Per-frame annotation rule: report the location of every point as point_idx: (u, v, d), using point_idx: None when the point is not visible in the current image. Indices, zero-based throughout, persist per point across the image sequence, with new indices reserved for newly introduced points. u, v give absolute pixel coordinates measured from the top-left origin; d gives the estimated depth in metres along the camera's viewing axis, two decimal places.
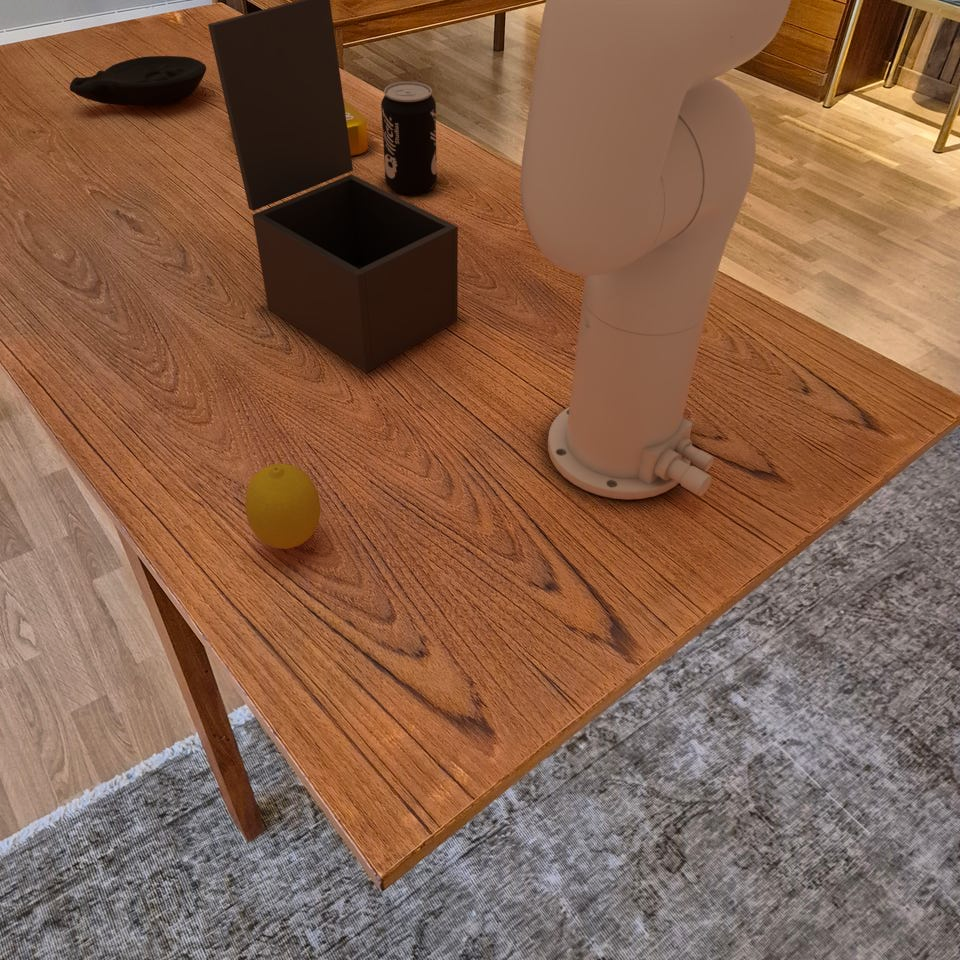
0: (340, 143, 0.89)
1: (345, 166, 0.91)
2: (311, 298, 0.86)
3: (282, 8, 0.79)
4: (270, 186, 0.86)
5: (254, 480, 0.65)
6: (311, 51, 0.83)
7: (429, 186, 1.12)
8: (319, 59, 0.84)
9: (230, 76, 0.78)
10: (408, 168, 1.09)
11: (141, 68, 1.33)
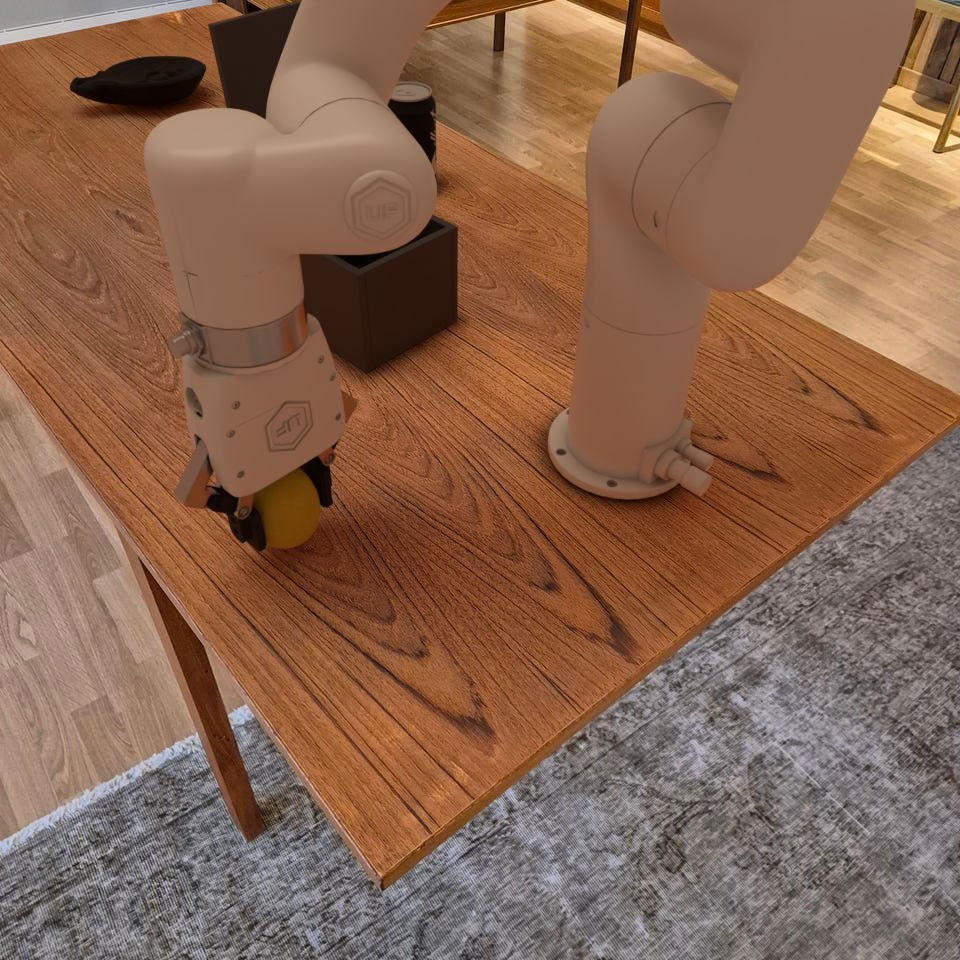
0: None
1: None
2: (311, 298, 0.86)
3: (282, 8, 0.79)
4: None
5: None
6: None
7: None
8: None
9: (230, 76, 0.78)
10: None
11: (141, 68, 1.33)
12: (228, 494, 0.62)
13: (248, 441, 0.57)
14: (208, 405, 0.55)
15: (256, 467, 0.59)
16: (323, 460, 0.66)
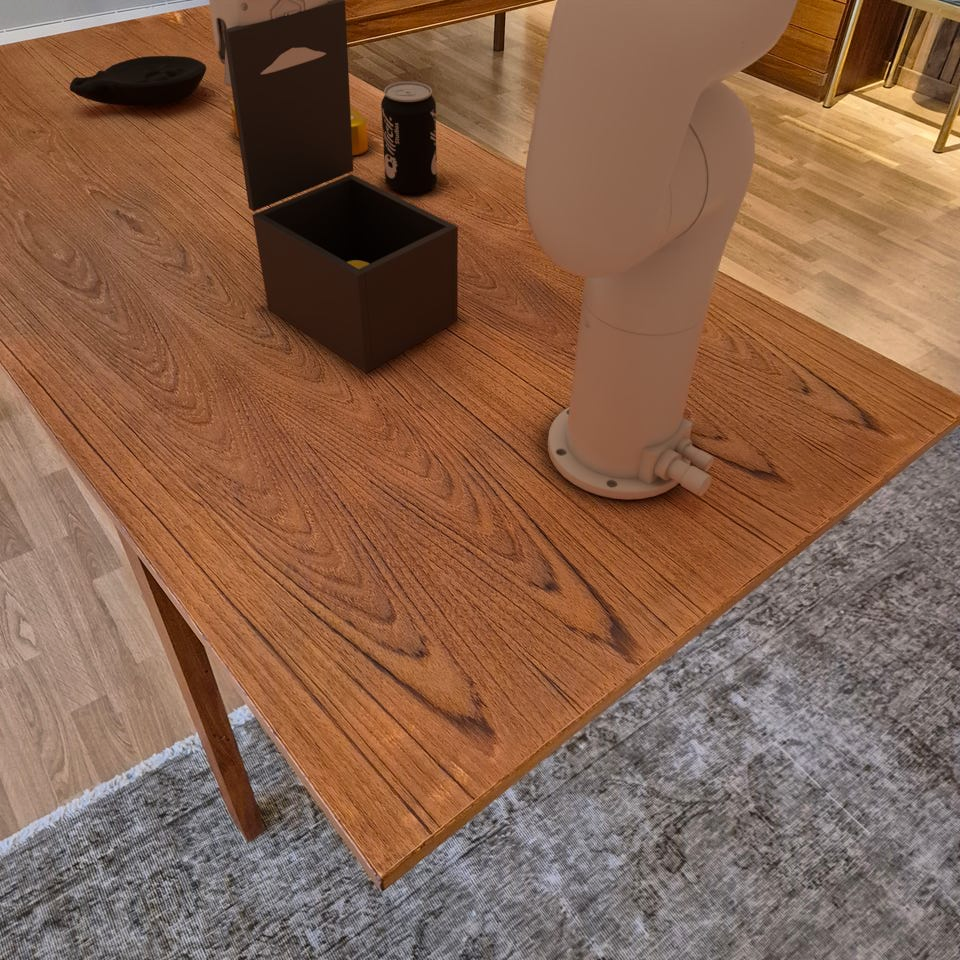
0: (342, 145, 0.89)
1: (346, 167, 0.91)
2: (311, 298, 0.86)
3: (298, 14, 0.78)
4: (272, 187, 0.86)
5: None
6: (323, 56, 0.82)
7: (429, 186, 1.12)
8: (330, 63, 0.83)
9: (241, 82, 0.77)
10: (408, 168, 1.09)
11: (141, 68, 1.33)
12: None
13: (257, 19, 0.75)
14: None
15: None
16: None
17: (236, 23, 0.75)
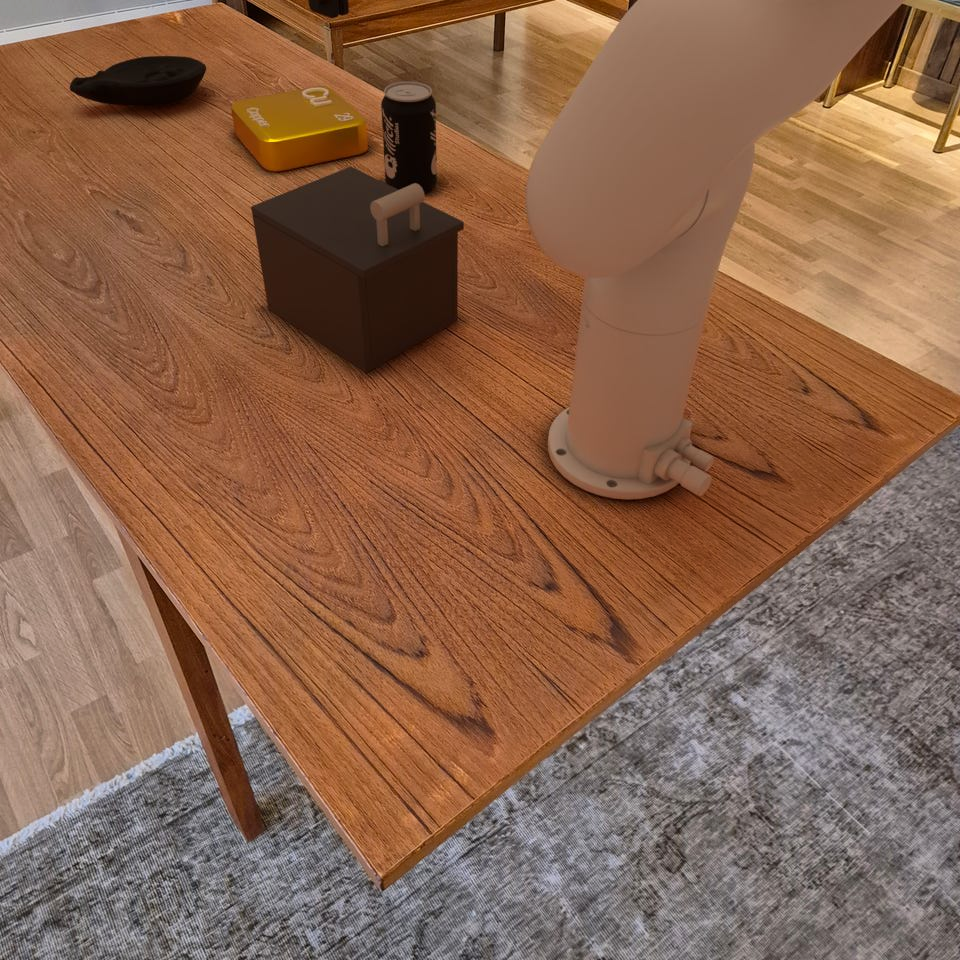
0: None
1: None
2: (311, 298, 0.86)
3: (422, 249, 0.82)
4: None
5: None
6: None
7: (429, 186, 1.12)
8: None
9: None
10: (408, 168, 1.09)
11: (141, 68, 1.33)
12: None
13: None
14: None
15: None
16: None
17: None
